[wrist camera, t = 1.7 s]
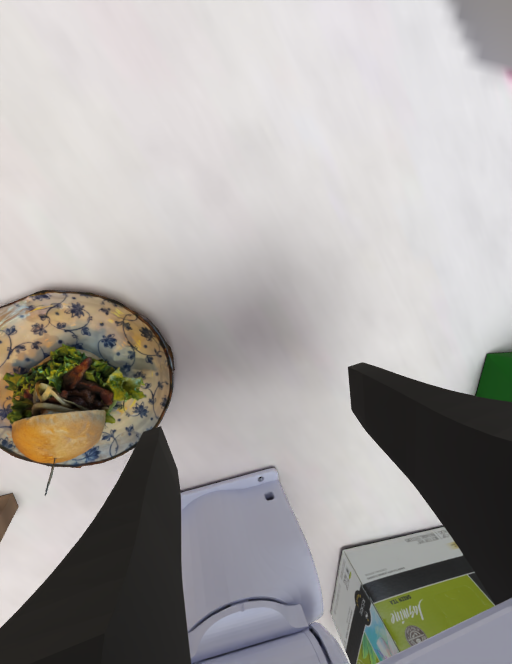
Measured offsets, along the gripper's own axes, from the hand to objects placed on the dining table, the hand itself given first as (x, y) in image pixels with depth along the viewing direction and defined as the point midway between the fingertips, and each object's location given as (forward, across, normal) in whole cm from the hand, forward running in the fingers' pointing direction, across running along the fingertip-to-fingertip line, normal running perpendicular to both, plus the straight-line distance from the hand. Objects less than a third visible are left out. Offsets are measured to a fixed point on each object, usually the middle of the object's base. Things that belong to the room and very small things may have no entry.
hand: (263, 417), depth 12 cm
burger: (+12, +10, +1) cm, 15 cm away
